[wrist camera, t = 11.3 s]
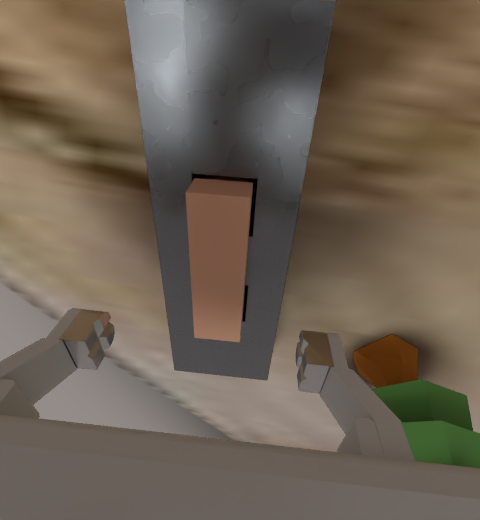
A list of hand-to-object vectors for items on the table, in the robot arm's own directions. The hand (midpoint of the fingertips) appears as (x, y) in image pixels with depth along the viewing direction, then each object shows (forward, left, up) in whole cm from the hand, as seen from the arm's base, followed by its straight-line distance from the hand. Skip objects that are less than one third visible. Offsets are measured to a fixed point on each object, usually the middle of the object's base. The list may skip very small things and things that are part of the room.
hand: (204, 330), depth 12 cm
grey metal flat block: (+1, 0, -10) cm, 10 cm away
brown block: (+1, 0, -10) cm, 10 cm away
